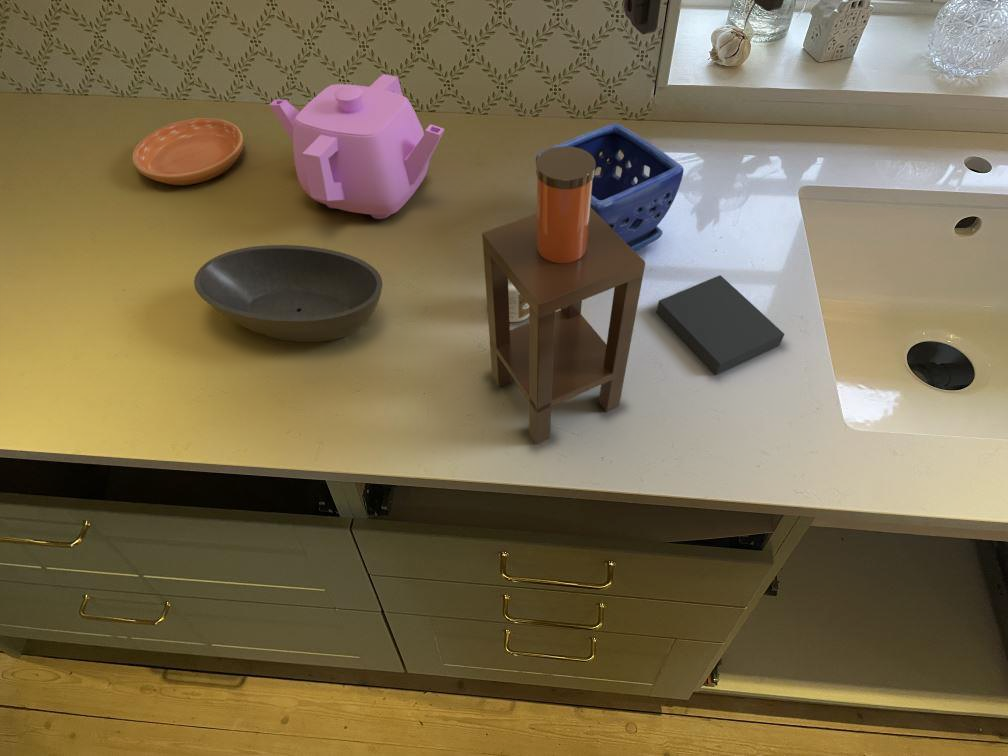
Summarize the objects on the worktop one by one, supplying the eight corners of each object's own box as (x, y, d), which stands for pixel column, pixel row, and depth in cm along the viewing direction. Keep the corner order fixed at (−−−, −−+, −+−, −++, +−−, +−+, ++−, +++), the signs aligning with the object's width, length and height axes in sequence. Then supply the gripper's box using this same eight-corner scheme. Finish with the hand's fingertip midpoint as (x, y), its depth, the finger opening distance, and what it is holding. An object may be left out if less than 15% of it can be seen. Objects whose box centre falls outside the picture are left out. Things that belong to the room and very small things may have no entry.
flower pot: (530, 231, 87) (530, 151, 78) (608, 196, 91) (617, 117, 82) (590, 288, 80) (598, 207, 70) (672, 247, 84) (690, 167, 75)
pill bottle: (529, 325, 76) (529, 276, 70) (492, 321, 77) (489, 272, 71) (535, 299, 79) (535, 249, 73) (499, 295, 79) (497, 246, 73)
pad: (779, 345, 73) (785, 333, 71) (715, 375, 71) (719, 364, 69) (716, 286, 79) (720, 274, 78) (655, 312, 77) (658, 300, 75)
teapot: (455, 209, 90) (444, 106, 79) (330, 250, 86) (298, 147, 74) (406, 143, 101) (389, 44, 90) (292, 176, 97) (259, 76, 85)
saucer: (210, 123, 107) (203, 105, 105) (269, 157, 100) (262, 139, 98) (121, 167, 100) (111, 149, 97) (177, 207, 93) (168, 189, 90)
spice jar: (598, 253, 54) (607, 168, 47) (551, 271, 52) (555, 186, 46) (570, 224, 56) (575, 140, 50) (525, 240, 55) (525, 156, 49)
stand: (619, 407, 68) (645, 262, 53) (536, 445, 66) (538, 304, 50) (570, 344, 74) (581, 197, 58) (492, 377, 71) (481, 232, 56)
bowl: (239, 276, 83) (221, 237, 78) (404, 294, 80) (396, 255, 75) (194, 345, 76) (171, 308, 71) (374, 369, 73) (363, 331, 68)
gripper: (677, -376, 24) (626, 65, 37) (992, -398, 26) (842, 22, 39) (595, -382, 28) (575, 12, 41) (870, -400, 31) (772, -23, 44)
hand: (705, 17), depth 40 cm, fingers open, 8 cm apart
